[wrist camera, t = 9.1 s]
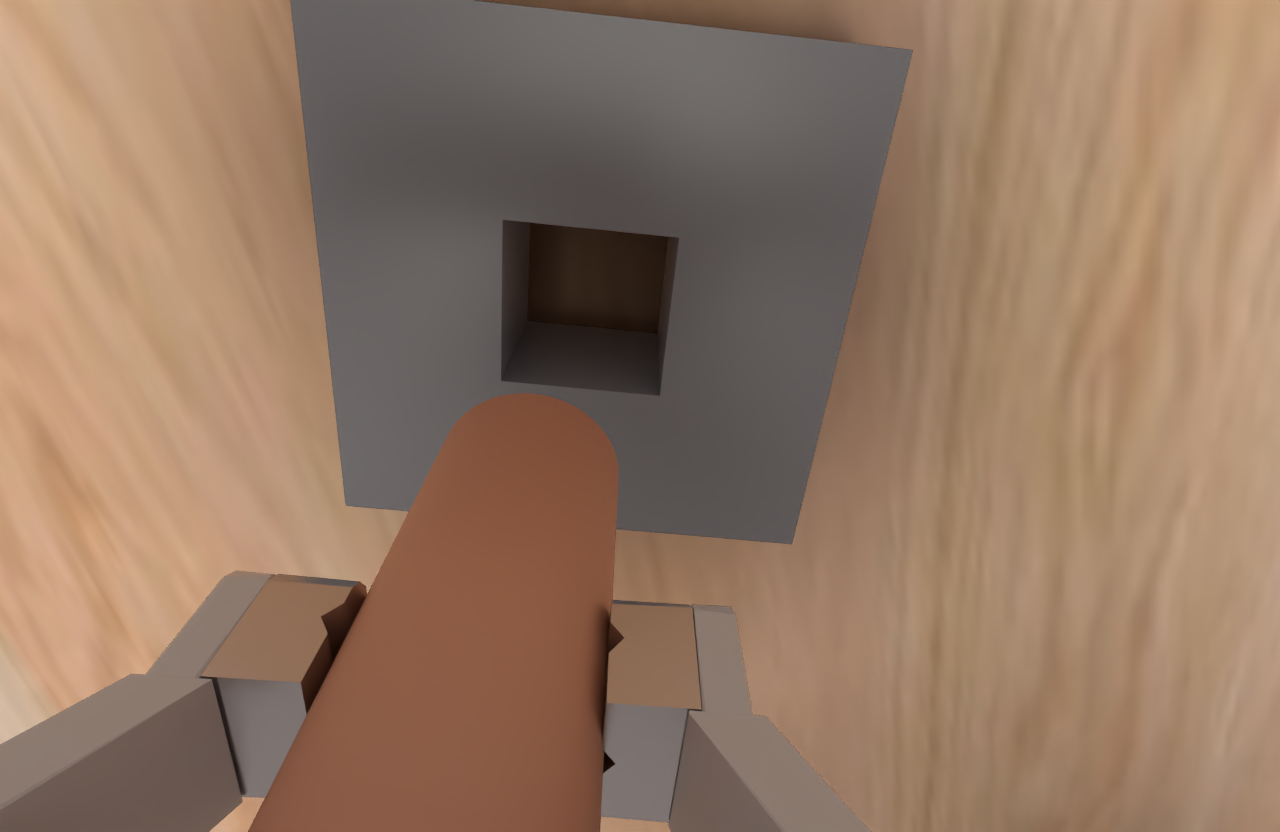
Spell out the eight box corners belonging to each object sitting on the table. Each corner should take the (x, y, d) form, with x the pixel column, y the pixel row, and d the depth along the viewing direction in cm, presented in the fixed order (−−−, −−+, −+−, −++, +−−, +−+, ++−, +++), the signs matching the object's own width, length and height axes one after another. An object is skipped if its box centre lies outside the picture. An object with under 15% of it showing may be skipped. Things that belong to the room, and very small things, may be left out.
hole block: (855, 49, 21) (912, 49, 16) (768, 462, 27) (792, 544, 23) (367, -5, 20) (287, -21, 16) (396, 429, 26) (345, 505, 22)
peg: (625, 401, 11) (572, 1641, 3) (612, 550, 13) (544, 1696, 4) (437, 385, 11) (-322, 1636, 2) (444, 538, 13) (-23, 1689, 4)
